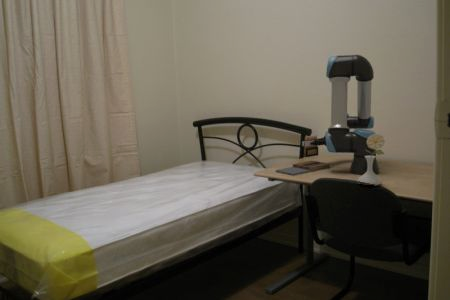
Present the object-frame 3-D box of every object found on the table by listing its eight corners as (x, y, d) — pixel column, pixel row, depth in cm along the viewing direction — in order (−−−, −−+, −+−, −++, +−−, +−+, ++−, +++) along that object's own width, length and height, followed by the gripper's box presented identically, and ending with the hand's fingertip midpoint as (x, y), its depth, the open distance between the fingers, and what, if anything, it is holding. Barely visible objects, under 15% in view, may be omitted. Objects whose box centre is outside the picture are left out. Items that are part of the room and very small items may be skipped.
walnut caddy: (329, 167, 246) (329, 163, 245) (310, 171, 237) (310, 167, 236) (311, 164, 257) (311, 160, 257) (292, 168, 248) (292, 164, 247)
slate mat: (309, 172, 236) (309, 170, 236) (293, 175, 229) (293, 173, 229) (292, 168, 248) (292, 166, 247) (275, 171, 240) (275, 170, 240)
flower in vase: (352, 185, 203) (353, 133, 200) (365, 180, 211) (365, 131, 207) (377, 189, 194) (378, 135, 190) (390, 184, 201) (391, 132, 197)
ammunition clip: (316, 154, 250) (316, 134, 248) (318, 155, 248) (318, 135, 247) (303, 156, 243) (303, 136, 242) (305, 157, 242) (305, 136, 240)
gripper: (341, 147, 250) (313, 151, 236) (322, 145, 262) (295, 149, 248) (341, 134, 249) (313, 138, 235) (322, 133, 260) (295, 136, 247)
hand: (304, 143), depth 242 cm, fingers closed on ammunition clip, 2 cm apart
